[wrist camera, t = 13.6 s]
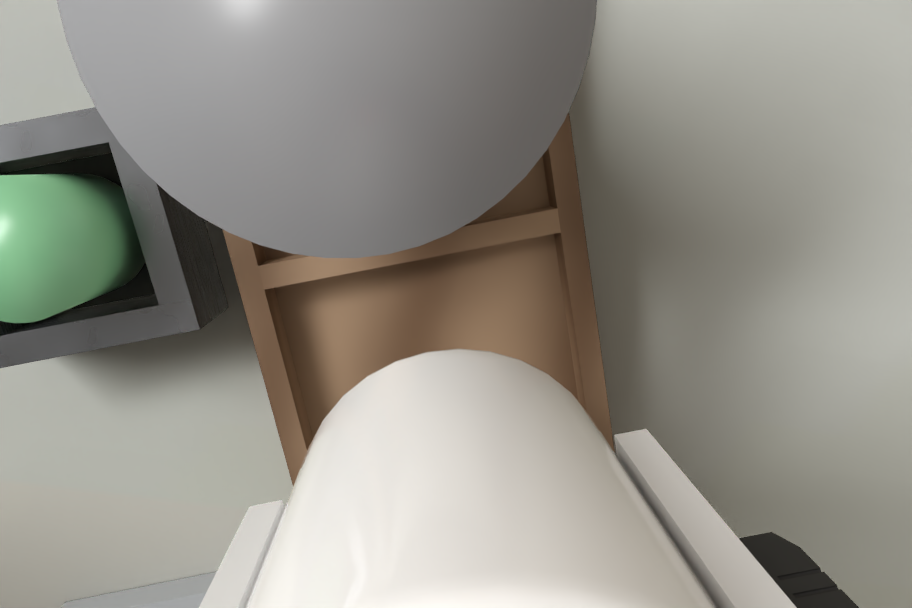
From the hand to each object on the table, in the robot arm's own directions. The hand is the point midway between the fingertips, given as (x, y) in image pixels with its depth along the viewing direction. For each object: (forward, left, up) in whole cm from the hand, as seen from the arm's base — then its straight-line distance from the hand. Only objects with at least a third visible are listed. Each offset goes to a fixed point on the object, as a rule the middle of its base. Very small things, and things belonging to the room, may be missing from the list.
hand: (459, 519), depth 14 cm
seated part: (0, +11, -9) cm, 14 cm away
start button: (-11, +8, -8) cm, 16 cm away
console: (-11, +8, -9) cm, 16 cm away
